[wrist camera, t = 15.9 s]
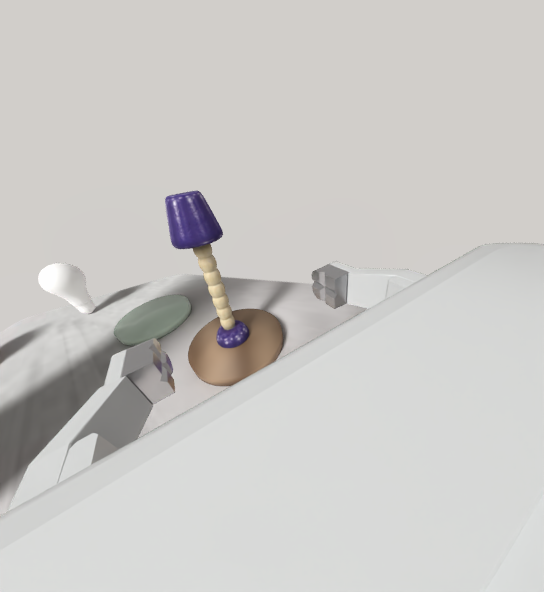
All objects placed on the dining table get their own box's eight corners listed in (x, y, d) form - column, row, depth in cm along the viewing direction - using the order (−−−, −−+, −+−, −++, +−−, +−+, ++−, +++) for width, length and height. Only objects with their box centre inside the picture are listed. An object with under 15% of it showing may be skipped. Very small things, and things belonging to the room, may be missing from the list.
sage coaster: (112, 358, 28) (107, 352, 27) (123, 317, 37) (119, 312, 37) (196, 322, 32) (193, 316, 31) (186, 292, 41) (184, 288, 40)
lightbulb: (99, 302, 45) (63, 257, 39) (113, 305, 42) (77, 257, 36) (67, 319, 40) (22, 272, 35) (82, 324, 38) (35, 273, 32)
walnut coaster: (201, 408, 19) (197, 401, 19) (186, 338, 29) (182, 332, 28) (301, 350, 23) (300, 343, 22) (259, 305, 33) (257, 299, 32)
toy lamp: (254, 322, 27) (214, 185, 18) (252, 348, 23) (199, 189, 14) (221, 327, 27) (165, 196, 19) (213, 353, 23) (138, 202, 15)
